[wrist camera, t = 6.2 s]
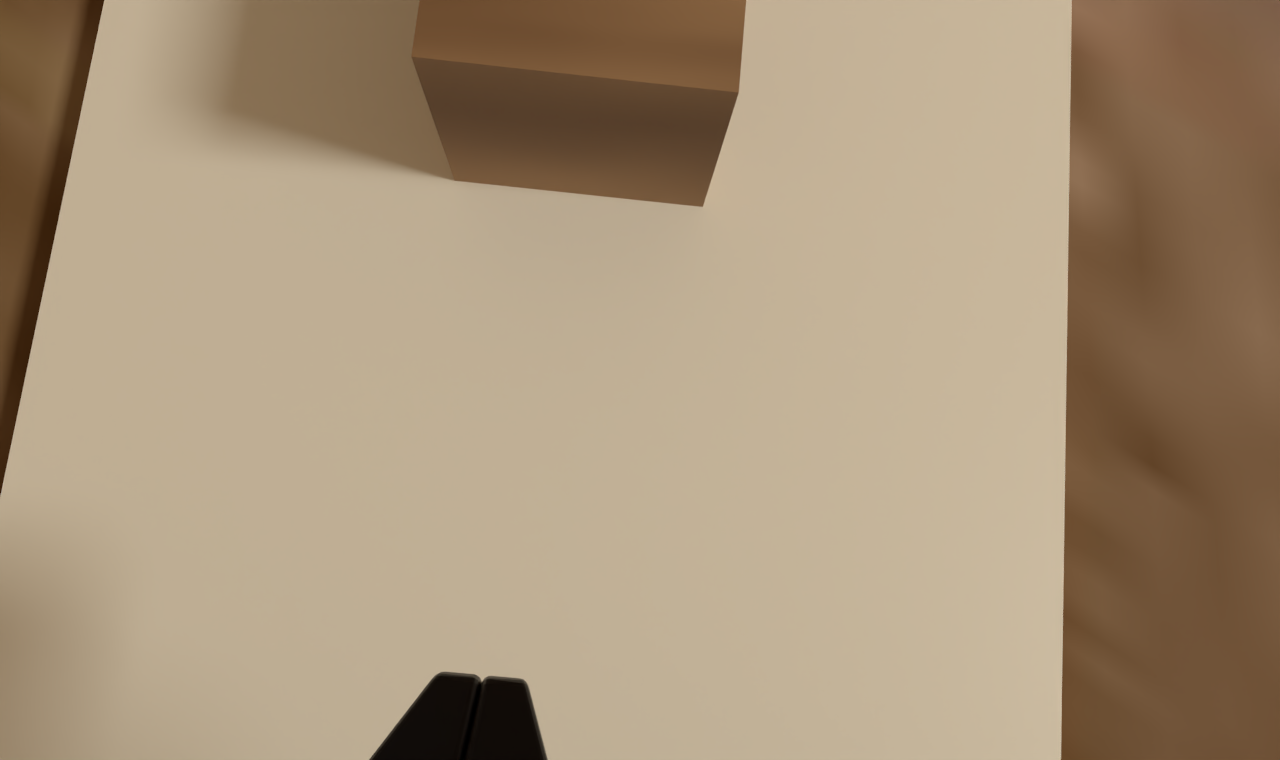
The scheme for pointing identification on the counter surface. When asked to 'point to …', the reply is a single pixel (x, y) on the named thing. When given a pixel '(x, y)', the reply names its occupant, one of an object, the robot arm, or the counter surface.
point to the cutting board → (548, 405)
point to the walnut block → (582, 92)
